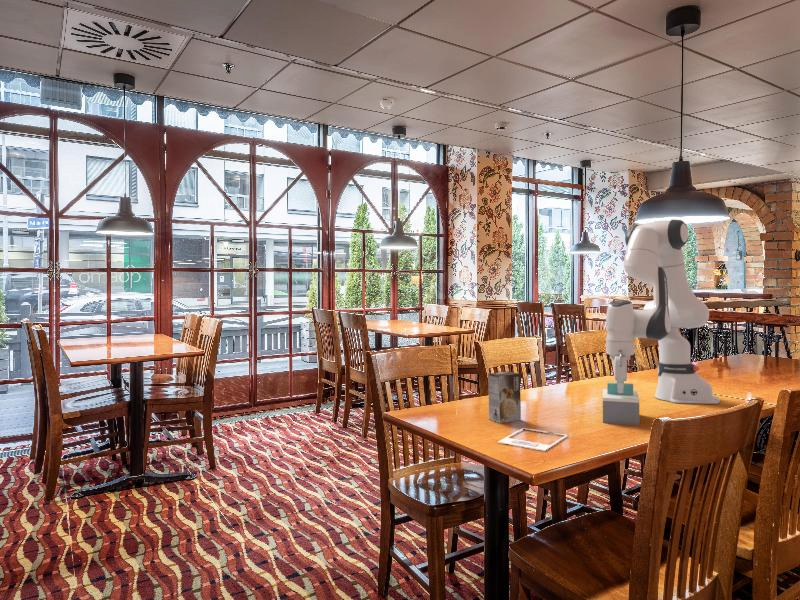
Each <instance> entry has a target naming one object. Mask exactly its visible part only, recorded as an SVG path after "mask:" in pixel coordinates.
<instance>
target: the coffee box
mask: <svg viewBox="0 0 800 600" xmlns="http://www.w3.org/2000/svg"><path fill="white" fill-rule="evenodd" d="M487 377H488V378H487V381H488V383H487V384H488V385H487V386H488V387H487V388H488V420H489V419H490V420H489V421H492V420H493V421H492V422H495V421H496V422H495V423H497V422H498V423H497V424H504V422H505V423H511V422H515V421H521V419H522V415H521V414H522V410H521V407H522V406H521V401H522V400H521V373H519V372H514V371H501V372H492V373H491V372H490V373H488V374H487Z"/></svg>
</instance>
